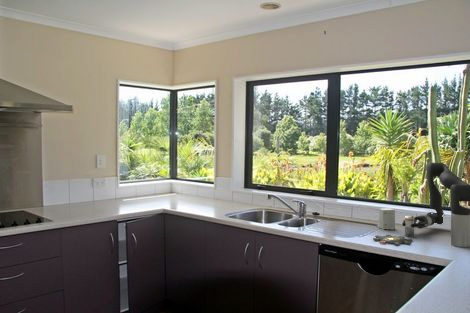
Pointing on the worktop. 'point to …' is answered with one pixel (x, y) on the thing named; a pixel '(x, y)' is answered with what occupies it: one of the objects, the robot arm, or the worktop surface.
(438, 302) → the worktop surface
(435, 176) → the robot arm
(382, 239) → the sprocket plate
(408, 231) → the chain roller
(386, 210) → the small box
